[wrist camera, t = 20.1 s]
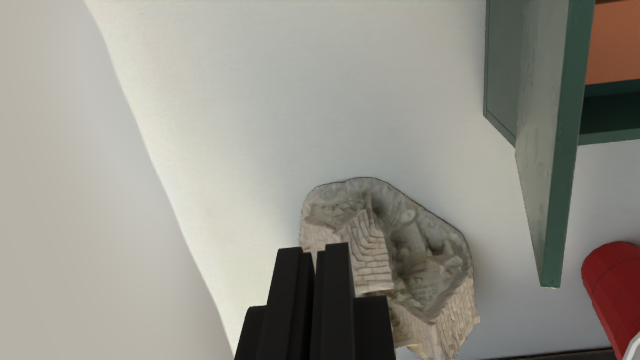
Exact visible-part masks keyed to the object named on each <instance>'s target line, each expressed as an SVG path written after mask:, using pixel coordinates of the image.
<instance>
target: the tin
mask: <svg viewBox="0 0 640 360" xmlns="http://www.w3.org/2000/svg"><path fill="white" fill-rule="evenodd" d="M523 10H524V0H486V30H485V69H484V107H483V116H484V117H485V118H487V120H488V121H489V122H490V123H491V124H492V125H493V126H494V127H495V128H496V129H497V130H498V131H499V132H500V133H501V134H502V135H503V136H504V137H505V138H506V139H507V140H508V141H509V143H510V144H511V145H512V146H513V147H514V148H515V143H516V127H517V110H518V94H519V77H520V60H521V44H522V27H523ZM635 139H640V79H632V80H624V81H615V82H607V83H598V84H590V85H585V89H584V97H583V105H582V113H581V121H580V129H579V137H578V145H577V146H579V145H588V144H598V143H607V142H616V141H626V140H635Z"/></svg>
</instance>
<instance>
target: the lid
mask: <svg viewBox="0 0 640 360" xmlns="http://www.w3.org/2000/svg"><path fill="white" fill-rule="evenodd" d="M594 9H595V0H524V10H523V27H522V44H521V60H520V77H519V94H518V110H517V127H516V143H515V158H516V163H517V168H518V173H519V178H520V183H521V188H522V194H523V199H524V204H525V209H526V214H527V219H528V224H529V230H530V235H531V240H532V245H533V250H534V255H535V260H536V266H537V271H538V276H539V281H540V286H541V287H543V288H555V289H559V287H560V282H561V274H562V266H563V258H564V249H565V241H566V233H567V225H568V217H569V209H570V201H571V193H572V185H573V177H574V169H575V161H576V153H577V145H578V137H579V129H580V121H581V113H582V105H583V97H584V89H585V81H586V73H587V65H588V57H589V49H590V41H591V33H592V25H593V17H594Z"/></svg>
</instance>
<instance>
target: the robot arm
mask: <svg viewBox="0 0 640 360" xmlns="http://www.w3.org/2000/svg"><path fill="white" fill-rule="evenodd" d="M234 360H396V356H395V349H394V342H393V336H392V329H391V322H390V315H389V309H388V302H387V296H386V295H379V296H368V297H356V294H355V287H354V280H353V272H352V265H351V257H350V250H349V243H348V242H343V243H332V244H326V245H325V250H323V251H317V260H316V274H315V270H314V264H313V259H312V254H311V252H303V249H302V247H292V248H282V249H278V252H277V257H276V262H275V267H274V271H273V276H272V281H271V286H270V291H269V295H268V300H267V305H264V306H253V307H249V308H248V310H247V313H246V316H245V320H244V324H243V327H242V331H241V335H240V339H239V343H238V347H237V350H236V354H235V358H234Z"/></svg>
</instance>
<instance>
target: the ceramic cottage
mask: <svg viewBox="0 0 640 360" xmlns="http://www.w3.org/2000/svg"><path fill="white" fill-rule="evenodd" d="M303 205H304V207H303V209H302V212H301V213H302V220H301V229H300V238H299V247H302V249H303V252H311V254H312V259H313V264H314V270H315V274H316V260H317V251H323V250H325V245H326V244H332V243H343V242H348V243H349V250H350V257H351V265H352V272H353V280H354V287H355V294H356V297H368V296H379V295H386V296H387V302H388V309H389V315H390V322H391V329H392V336H393V342H394V349H395V356H396V348H397V347H402V346H407V348H408V349H410V350H411V351H413V352H414V353H415V354H417V355H418V356H419V357H420V358H421V359H426V360H455V357H456V356H458V355H457V352H458V351H459V348H460V347H461V345H462V343H463V342H464V341H465V340H466V339H467V335H468V334H469V333H470V332H471V331H472V330H473V328H474V325H475V324H478V323H479V321H480V317H479V315H478V310H477V306H476V302H475V295H474V286H473V280H474V278H473V274H472V271H473V265H472V260H471V258H472V257H471V256H470V252H469V250H468V246H467V244H466V243H465V241H464V238H463V236H462V234H461V233H460V232H458V231H457V230H455V229H454V228H453V227H451V226H450V225H449V224H447V223H445V222H444V221H442V220H441V219H439V218H437V217H436V216H435V215H433V214H432V213H430V212H429V211H427V210H425V209H424V207H421V206H419V205H418V204H416V203H415V202H414V201H411V200H410V199H409V198H408V197H406V196H405V195H404V194H402V193H401V192H400V193H399V191H398V190H397V189H394V188H393V187H392V186H391V185H389V184H388V183H386V182H383V181H380V180H377V179H374V178H365V177H364V178H361V179H360V178H355V179H351V180H346V182H345V183H331V184H327V185H321V186H320V187H315V189H314V190H312V191H311V192H310V193H309V195H307V197H306V199H305V201H304V204H303Z"/></svg>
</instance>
